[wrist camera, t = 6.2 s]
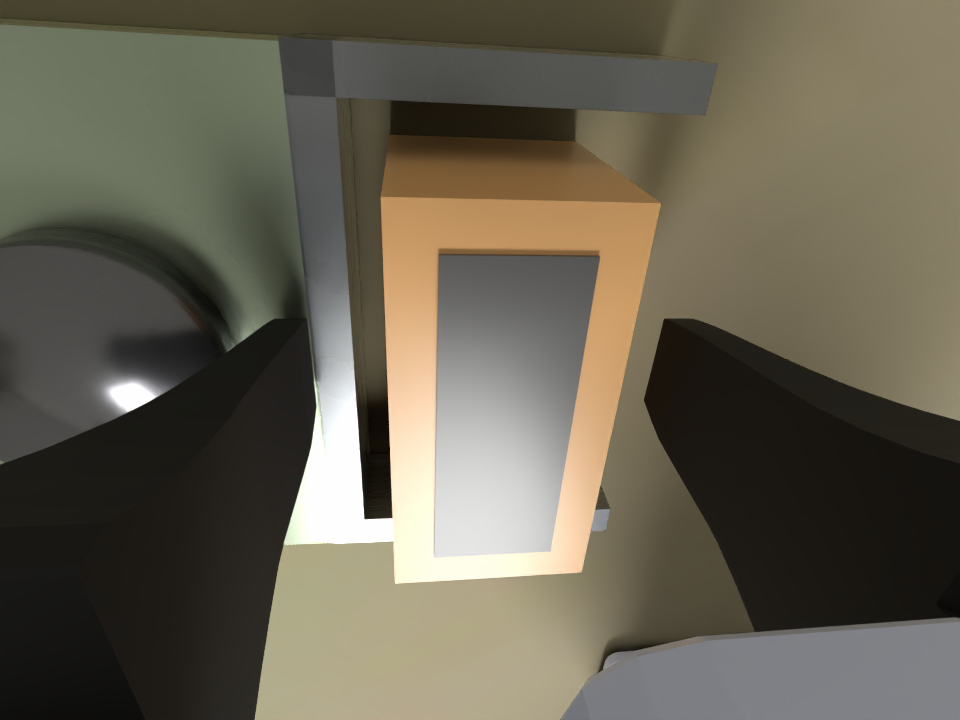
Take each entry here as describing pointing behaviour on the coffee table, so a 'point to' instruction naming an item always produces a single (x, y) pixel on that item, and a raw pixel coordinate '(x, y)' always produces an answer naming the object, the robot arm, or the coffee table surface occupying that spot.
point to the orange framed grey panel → (504, 347)
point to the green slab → (227, 216)
